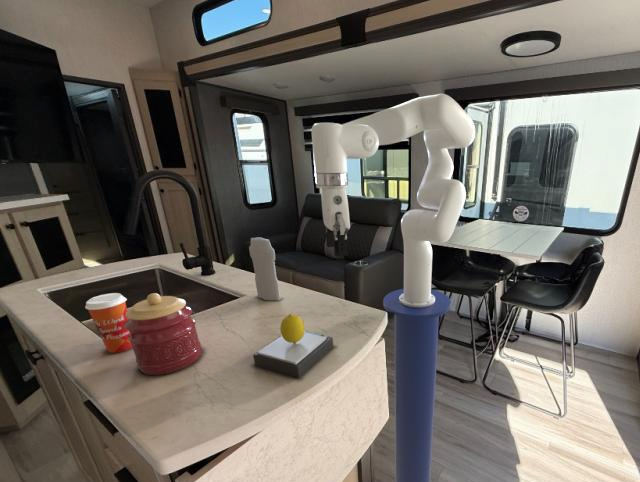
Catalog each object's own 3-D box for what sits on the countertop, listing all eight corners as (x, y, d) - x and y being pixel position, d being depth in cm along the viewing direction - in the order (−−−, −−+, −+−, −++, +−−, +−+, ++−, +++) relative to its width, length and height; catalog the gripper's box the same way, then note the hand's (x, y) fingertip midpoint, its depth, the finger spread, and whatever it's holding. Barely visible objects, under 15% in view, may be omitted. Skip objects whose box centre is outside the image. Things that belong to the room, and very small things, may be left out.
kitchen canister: (132, 382, 70) (105, 310, 64) (146, 352, 81) (125, 288, 75) (200, 367, 75) (182, 299, 69) (205, 341, 86) (189, 280, 80)
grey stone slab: (253, 297, 114) (242, 237, 106) (261, 293, 117) (252, 235, 110) (277, 302, 110) (267, 240, 103) (284, 297, 114) (276, 237, 106)
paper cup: (97, 357, 79) (76, 306, 74) (109, 342, 85) (92, 294, 80) (135, 351, 82) (118, 301, 77) (145, 337, 88) (129, 290, 83)
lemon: (277, 347, 77) (273, 317, 74) (292, 336, 82) (288, 308, 79) (297, 351, 75) (293, 321, 73) (310, 339, 80) (307, 311, 77)
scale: (293, 337, 88) (292, 326, 87) (333, 347, 84) (332, 335, 82) (254, 365, 76) (252, 352, 75) (299, 378, 72) (297, 364, 70)
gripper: (357, 182, 69) (360, 258, 76) (339, 179, 84) (343, 242, 90) (322, 183, 67) (328, 261, 73) (310, 179, 82) (316, 244, 88)
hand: (336, 250), depth 82 cm, fingers open, 9 cm apart
